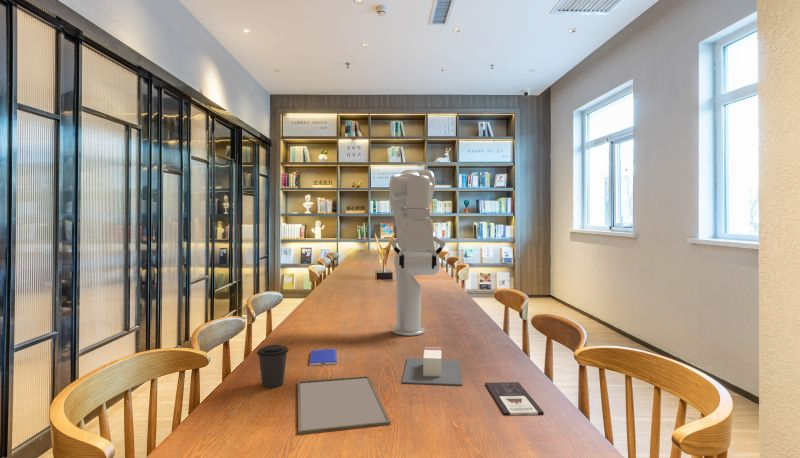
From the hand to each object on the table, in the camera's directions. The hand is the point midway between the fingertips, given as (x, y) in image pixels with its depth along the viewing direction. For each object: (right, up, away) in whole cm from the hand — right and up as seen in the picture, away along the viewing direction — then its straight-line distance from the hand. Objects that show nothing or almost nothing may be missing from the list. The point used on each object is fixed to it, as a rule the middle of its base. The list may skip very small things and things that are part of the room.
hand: (417, 268), depth 137 cm
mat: (+4, -29, -13) cm, 32 cm away
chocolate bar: (+22, -30, -31) cm, 48 cm away
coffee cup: (-39, -29, -23) cm, 54 cm away
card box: (+4, -28, -13) cm, 31 cm away
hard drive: (-30, -29, -1) cm, 42 cm away
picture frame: (-20, -30, -34) cm, 49 cm away
